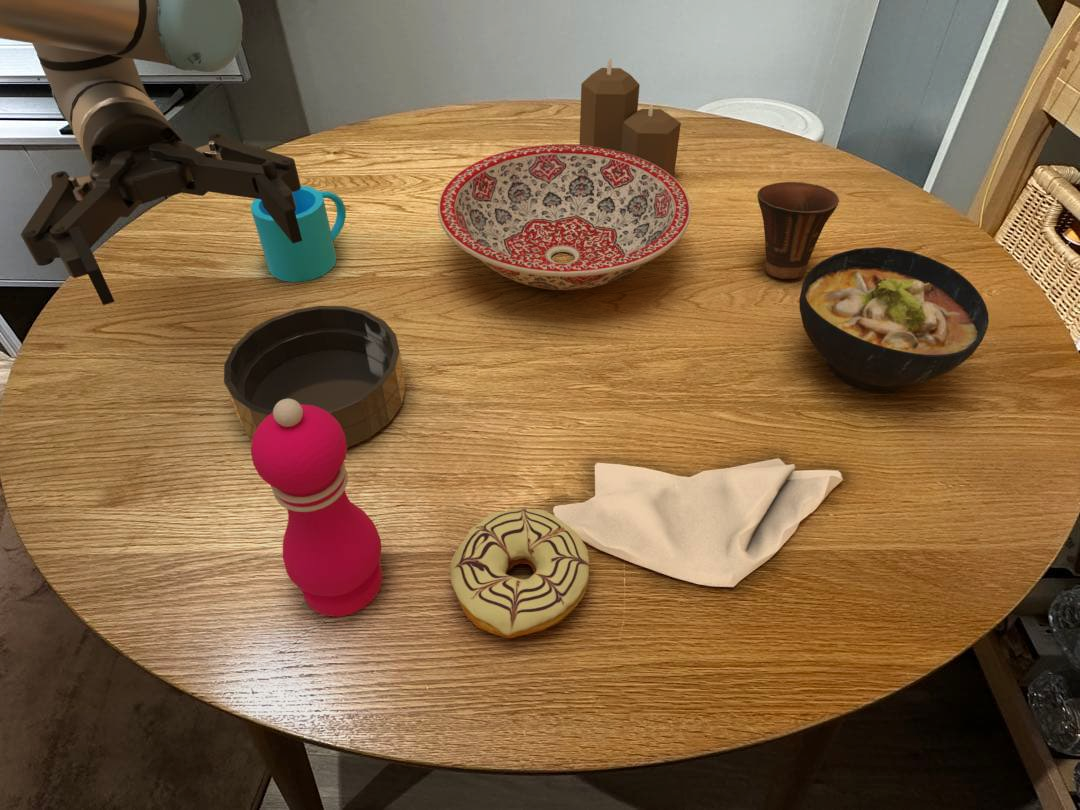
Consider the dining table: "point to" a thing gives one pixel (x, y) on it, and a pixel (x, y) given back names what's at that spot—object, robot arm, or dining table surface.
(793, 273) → the cup
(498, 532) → the decorated donut
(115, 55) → the robot arm
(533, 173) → the ceramic bowl
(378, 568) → the pepper mill
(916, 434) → the dining table surface
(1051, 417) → the dining table surface
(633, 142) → the candle
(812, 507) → the cloth
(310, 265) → the mug
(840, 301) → the bowl
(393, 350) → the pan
